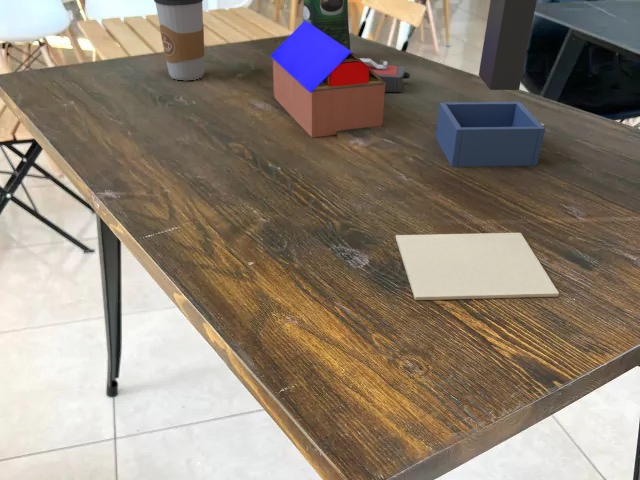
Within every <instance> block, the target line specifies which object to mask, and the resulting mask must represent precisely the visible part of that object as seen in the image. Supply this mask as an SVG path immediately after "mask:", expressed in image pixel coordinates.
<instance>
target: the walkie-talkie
mask: <svg viewBox="0 0 640 480" xmlns="http://www.w3.org/2000/svg"><path fill="white" fill-rule="evenodd" d="M358 58H359V57H358ZM359 59H360V60H361V61H363V62H364V63H365V64H366V65H367V66H368V67H369V68H370V69H371V70H373V71H374V72H375V73H376V74H377V75H378V76H379V77H380V78H381V79H383V80H384V81H385V82H386V85H385V93H401V92H402V91H403V83H404V80H405V79H406V80H407V79H410V78H411V73H409V72H407V71H406V72H405V66H401V65H388V61H387V60H386V61H383V63H382V64H378V63H377V62H375V61H374V60H372V59H371V58H365V57H360V58H359Z"/></svg>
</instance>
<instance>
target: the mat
mask: <svg viewBox="0 0 640 480" xmlns="http://www.w3.org/2000/svg"><path fill="white" fill-rule="evenodd" d="M395 240H396V244H397V248H398V250H399V254H400V257H401V260H402V264H403V266H404V270H405V274H406V275H407V276H406V277H407V279H408V284H409V286H410V289H411V292H412V295H413V299H414V301H440V300H441V301H442V300H443V301H445V300H479V299H483V300H484V299H514V298H515V299H517V298H519V299H521V298H522V299H523V298H555V297H556V298H557V297H559V296H560V292H559V290H558V289H557V288H556V286H555V285H554V283H553V282H552V280H551V278H550V277H549V275H548V274H547V272H546V270H545V269H544V267H543V265H542V264H541V263H540V261H539V259H538V258H537V256H536V254H535V253H534V251H533V250H532V247H530V244H529V243H528V242H527V240H526V239H525V237H524V236H523V234H522V233H521V232H488V233H486V232H484V233H482V232H481V233H441V234H440V233H439V234H437V233H435V234H434V233H433V234H431V233H430V234H396V235H395Z"/></svg>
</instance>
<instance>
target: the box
mask: <svg viewBox="0 0 640 480" xmlns="http://www.w3.org/2000/svg"><path fill="white" fill-rule="evenodd" d="M437 112H438V113H437V114H438V115H437V121H436V130H435V139H436V141H437V143H438V145H439V147H440V148H441V150H442V152H443V155H444V156H445V158H446V159H447V161H448V163H449V165H450V167H451V168H461V167H463V168H464V167H465V168H466V167H467V168H469V167H470V168H471V167H472V168H473V167H475V168H476V167H529V166H530V167H531V166H532V167H533V166H535V167H536V166H538V163H539V159H540V155H541V150H542V146H543V141H544V137H545V132H546V128H545V126H544V125H543V124H541V122H540V121H539V120H538V119H537V118H536V117H535V115H533V114H532V113H531V112H530V111H529V109H527V107H526V106H524V104H523V103H522V102H521V101H488V102H487V101H471V102H470V101H468V102H467V101H465V102H463V101H462V102H455V101H453V102H450V101H449V102H439V105H438V111H437Z"/></svg>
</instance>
